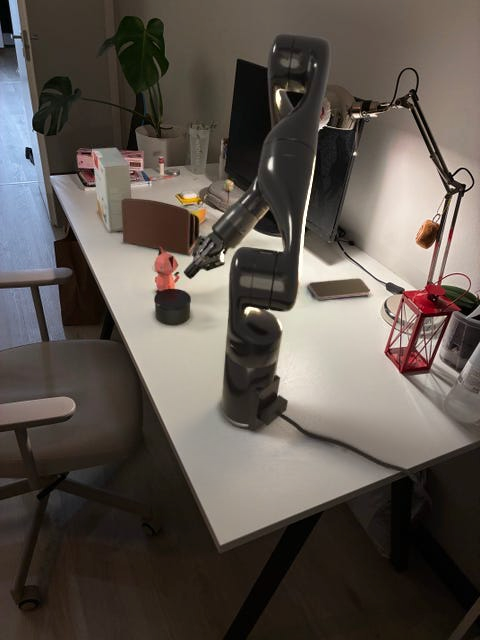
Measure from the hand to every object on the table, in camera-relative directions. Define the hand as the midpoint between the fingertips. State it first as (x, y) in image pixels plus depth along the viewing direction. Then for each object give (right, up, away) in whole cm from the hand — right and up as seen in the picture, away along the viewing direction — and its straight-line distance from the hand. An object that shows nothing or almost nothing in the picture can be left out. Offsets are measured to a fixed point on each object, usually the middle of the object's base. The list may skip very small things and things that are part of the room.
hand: (186, 276), depth 124 cm
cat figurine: (-5, -4, 0) cm, 7 cm away
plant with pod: (+9, +12, +26) cm, 30 cm away
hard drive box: (-25, +20, +32) cm, 45 cm away
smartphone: (+39, -3, +8) cm, 40 cm away
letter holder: (-10, +12, +23) cm, 27 cm away
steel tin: (-3, -10, -7) cm, 12 cm away
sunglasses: (-6, +22, +37) cm, 44 cm away
